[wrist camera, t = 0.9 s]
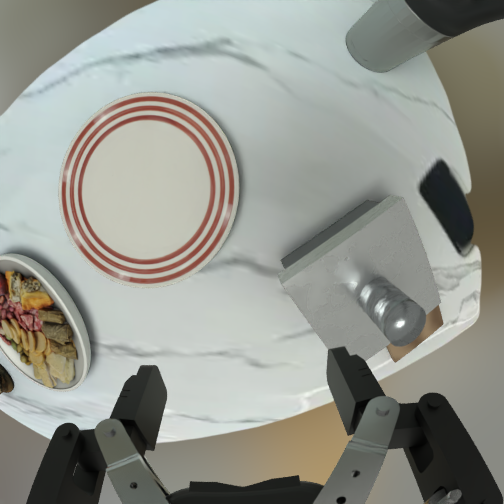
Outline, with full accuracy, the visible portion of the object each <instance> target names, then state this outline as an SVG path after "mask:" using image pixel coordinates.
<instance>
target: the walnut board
mask: <svg viewBox="0 0 504 504" xmlns="http://www.w3.org/2000/svg"><path fill="white" fill-rule="evenodd" d="M442 325H443V320H442V316H441V312H440V308H439V305H438V306H436V307H435V308H434V309H433V310H432V311H431V312H429V313H428V314H427V315H426V323H425V326H424V328H423V330H422V332H421V333H420V335H419V336H418V337H417V338H416V339H415V340H414V341H413V342H411V343H410V344H408V345H405V346H402V347H397V346H394V345H392V344H391V343H390V344H389V345H387V346H386V347H387V349H388V351H389V353H390V356H391V358H392V359H393V361H394V362H397V361H398V360H400V359H401V358H402V357H404V356H405V355H406V354H408V353H409V352H410V351H411V350H413V349H414V348H415V347H417V346H418V345H419V344H420V343H422V342H423V341H424V340H425V339H427V338H428V337H429V336H430V335H431V334H433V333H434V332H435V331H436V330H437V329H438V328H439V327H441V326H442Z"/></svg>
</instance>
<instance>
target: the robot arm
mask: <svg viewBox="0 0 504 504" xmlns="http://www.w3.org/2000/svg"><path fill="white" fill-rule="evenodd" d="M500 19H504V0H377V1H376V2H375V3H374V4H373V5H372V6H371V8H370V9H369V10H368V11H367V12H366V13H365V14H364V15H363V16H362V17H361V18H360V19H359V20H358V21H357V22H356V23H355V24H354V25H353V27H352V28H351V29H350V30H349V31H348V33H347V35H346V44H347V47H348V50H349V52H350V53H351V55H352V56H353V57H354V59H355V60H356V61H357V62H359V63H360V64H361V65H362V66H364V67H365V68H367V69H369V70H372V71H375V72H387V71H389V70H391V69H393V68H394V67H396V66H398V65H400V64H402V63H404V62H406V61H407V60H409V59H411V58H413V57H415V56H417V55H419V54H421V53H423V52H425V51H427V50H429V49H431V48H433V47H435V46H437V45H439V44H441V43H443V42H445V41H447V40H449V39H451V38H453V37H455V36H458V35H460V34H462V33H464V32H466V31H469V30H471V29H473V28H475V27H478V26H481V25H483V24H486V23H489V22H493V21H496V20H500ZM327 382H328V385H329V388H330V390H331V393H332V396H333V398H334V401H335V403H336V406H337V408H338V411H339V414H340V416H341V419H342V421H343V424H344V427H345V430H346V432H347V435H348V436H349V435H352V434H354V436H353V438H352V440H351V441H349V443H348V444H347V446H346V448H345V450H344V452H343V454H342V456H341V458H340V459H339V461H338V463H337V465H336V467H335V468H334V470H333V472H332V474H331V476H330V477H329V479H328V481H327V482H326V484H325V485H324V486H323V485H320V484H317V483H313V482H307V481H300V480H299V475H297V476H291V477H283V478H276V479H270V480H267V481H263V482H260V483H257V484H253V485H249V486H245V487H240V486H234V485H228V484H223V483H218V482H192V481H191V482H190V487H189V488H185V489H181V490H179V491H176V492H174V493H172V494H170V492H169V491H168V490H167V489H166V487H164V485H163V483H162V482H161V481H160V479H159V478H158V476H157V475H156V473H155V472H154V470H153V468H152V467H151V465H150V464H149V462H148V461H147V459H146V458H145V456H144V455H145V451H146V450H151V451H154V449H155V445H156V441H157V437H158V432H159V428H160V424H161V420H162V416H163V412H164V408H165V404H166V401H167V390H166V387H165V384H164V382H163V379H162V377H161V374H160V371H159V369H158V367H157V366H156V365H141V366H140V368H139V370H138V373H137V375H132V376H131V377H130V378H129V379H128V380H127V381H126V382H125V384H124V386H123V389H122V391H121V393H120V395H119V396H120V397H119V398H118V400H117V402H116V404H115V407H114V409H113V411H112V414H111V416H110V418H109V419H106V420H103V421H101V422H100V423H99V424H98V425H97V426H96V428H95V429H90V430H79V428H78V427H77V426H76V425H75V424H73V423H64V424H62V425H60V426H59V427H58V428H57V429H56V430H55V432H54V435H53V437H52V439H51V441H50V443H49V446H48V448H47V451H46V453H45V455H44V457H43V460H42V462H41V465H40V467H39V470H38V472H37V475H36V477H35V480H34V483H33V485H32V488H31V491H30V494H29V497H28V500H27V503H26V504H98V502H99V498H100V493H101V489H102V485H103V481H104V476H105V472H107V474H108V476H109V478H110V480H111V482H112V484H113V487H114V489H115V491H116V492H117V494H118V496H119V498H120V500H121V502H122V504H365V502H366V500H367V498H368V496H369V494H370V491H371V489H372V487H373V485H374V483H375V481H376V478H377V476H378V474H379V471H380V469H381V466H382V464H383V461H384V459H385V456H386V454H387V450H388V449H397V448H403V449H404V452H405V454H406V457H407V459H408V461H409V464H410V466H411V469H412V471H413V474H414V476H415V479H416V481H417V484H418V487H419V489H420V492H421V495H422V497H423V500H424V504H503V497H502V494H501V492H500V490H499V488H498V486H497V484H496V482H495V480H494V478H493V476H492V474H491V472H490V471H489V469H488V467H487V465H486V464H485V461H484V460H483V458H482V456H481V454H480V453H479V451H478V449H477V447H476V446H475V444H474V442H473V441H472V439H471V437H470V435H469V434H468V432H467V431H466V429H465V428H464V426H463V424H462V423H461V421H460V419H459V418H458V416H457V415H456V413H455V411H454V410H453V408H452V407H451V405H450V404H449V402H448V401H447V399H446V398H445V397H444V396H443V395H441V394H438V393H427V394H425V395H423V396H422V397H421V398H420V400H419V402H418V403H408V404H400V403H398V402H397V401H396V400H395V399H393V398H391V397H387V396H386V395H385V394H384V392H383V390H382V388H381V387H380V385H379V384H378V382H377V380H376V378H375V377H374V375H373V374H372V372H371V370H370V369H369V367H368V365H367V363H366V362H365V360H364V359H363V358H361V357H360V356H358V355H357V354H355V355H350V354H349V353H348V351H347V349H346V347H345V346H342V347H337V348H332V349H329V350H328V359H327ZM76 464H77V466H76ZM75 467H76V469H75ZM74 471H75V472H74ZM73 474H74V475H73Z"/></svg>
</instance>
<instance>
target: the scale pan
mask: <svg viewBox="0 0 504 504" xmlns="http://www.w3.org/2000/svg"><path fill="white" fill-rule="evenodd" d="M278 277H279V279H280V282H281V284H282V286H283V287H284V289H285V290H286V291H287V293H288V294H289V296H290V297H291V298H292V300H293V301H294V302H295V304H296V305H297V307H298V308H299V309H300V311H301V312H302V314H303V315H304V316H305V318H306V319H307V321H308V322H309V323H310V325H311V326H312V327H313V329H314V330H315V332H316V333H317V334H318V336H319V337H320V339H321V340H322V341H323V343H324V344H325V346H326V347H327V348H328V350H329V349H332V348H337V347H342V346H345V347H346V349H347V351H348V353H349V354H350V355H355V354H357V355H358V356H360V357H361V358H363V359H364V360H365V361H366V360H367V359H369V358H370V357H372V356H373V355H375V354H376V353H378V352H379V351H381V350H382V349H383V348H385V347H386V346H387V345H389V344H390V341H389V340H388V339H387V338H386V337H385V335H384V334H383V333H382V332H381V331H380V329H379V328H378V327H377V326H376V325H375V324H374V322H373V321H372V320H371V319H370V318H369V316H368V315H367V314H366V313H365V312H364V311H363V309H362V308H361V306H360V294H361V292H362V290H363V288H364V287H365V286H366V285H367V284H368V283H369V282H370V281H372V280H374V279H376V278H385V279H387V280H388V281H390V282H391V283H392V284H394V285H395V286H396V287H397V288H399V289H400V290H401V291H402V292H404V293H405V294H406V295H407V296H409V297H410V298H411V299H412V300H413V301H415V302H416V303H417V304H418V305H420V306H421V307H422V308H423V309H424V310H425V313H426V315H427V314H428V313H429V312H431V311H432V310H433V309H434V308H435V307H436V306H438V305H439V304H440V303H441V300H440V297H439V293H438V290H437V286H436V283H435V280H434V276H433V273H432V270H431V267H430V264H429V261H428V258H427V255H426V252H425V250H424V247H423V244H422V241H421V239H420V236H419V234H418V231H417V229H416V226H415V224H414V221H413V219H412V216H411V214H410V212H409V209H408V207H407V205H406V203H405V200H404V198H402V197H397V196H392V195H390V196H388V197H387V198H386V199H384V200H383V201H382V202H380V203H379V204H377V205H376V206H375V207H373V208H372V209H371V210H369V211H368V212H366V213H365V214H364V215H362V216H361V217H359V218H358V219H357V220H355V221H354V222H352V223H351V224H350V225H348V226H347V227H345V228H344V229H343V230H341V231H340V232H338V233H337V234H336V235H334V236H333V237H331V238H330V239H328V240H327V241H326V242H324V243H323V244H321V245H320V246H318V247H317V248H315V249H314V250H313V251H311V252H310V253H308V254H307V255H305V256H304V257H302V258H301V259H299V260H298V261H296V262H295V263H294V264H292V265H291V266H289V267H288V268H286V269H285V270H283V271H282V272H280V273H279V274H278Z"/></svg>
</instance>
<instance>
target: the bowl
mask: <svg viewBox="0 0 504 504" xmlns="http://www.w3.org/2000/svg"><path fill="white" fill-rule="evenodd" d="M0 350H1V351H2V353H3V354H4V355H5V357H6V358H7V359H8V360H9V361H10V362H11V364H12V365H13V366H14V367H15V368H16V369H17V370H19V371H20V372H21V373H22V374H23V375H24V376H26V377H27V378H28V379H30V380H31V381H33V382H35V383H36V384H38V385H40V386H42V387H44V388H47V389H50V390H54V391H60V392H66V391H71V390H74V389H76V388H78V387H79V386H80V385H81V384H82V383H83V381H84V380H85V378H86V376H87V374H88V371H89V367H90V361H91V349H90V342H89V337H88V333H87V330H86V327H85V324H84V322H83V319H82V317H81V315H80V313H79V311H78V309H77V307H76V305H75V303H74V302H73V300H72V298H71V297H70V295H69V294H68V292H67V291H66V290H65V288H64V287H63V286H62V285H61V283H60V282H59V281H58V280H57V279H56V278H55V277H54V276H53V275H52V274H51V273H50V272H49V271H48V270H47V269H46V268H45V267H43V266H42V265H41V264H39V263H38V262H36V261H34V260H33V259H31V258H28V257H26V256H23V255H19V254H3V255H0Z"/></svg>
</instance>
